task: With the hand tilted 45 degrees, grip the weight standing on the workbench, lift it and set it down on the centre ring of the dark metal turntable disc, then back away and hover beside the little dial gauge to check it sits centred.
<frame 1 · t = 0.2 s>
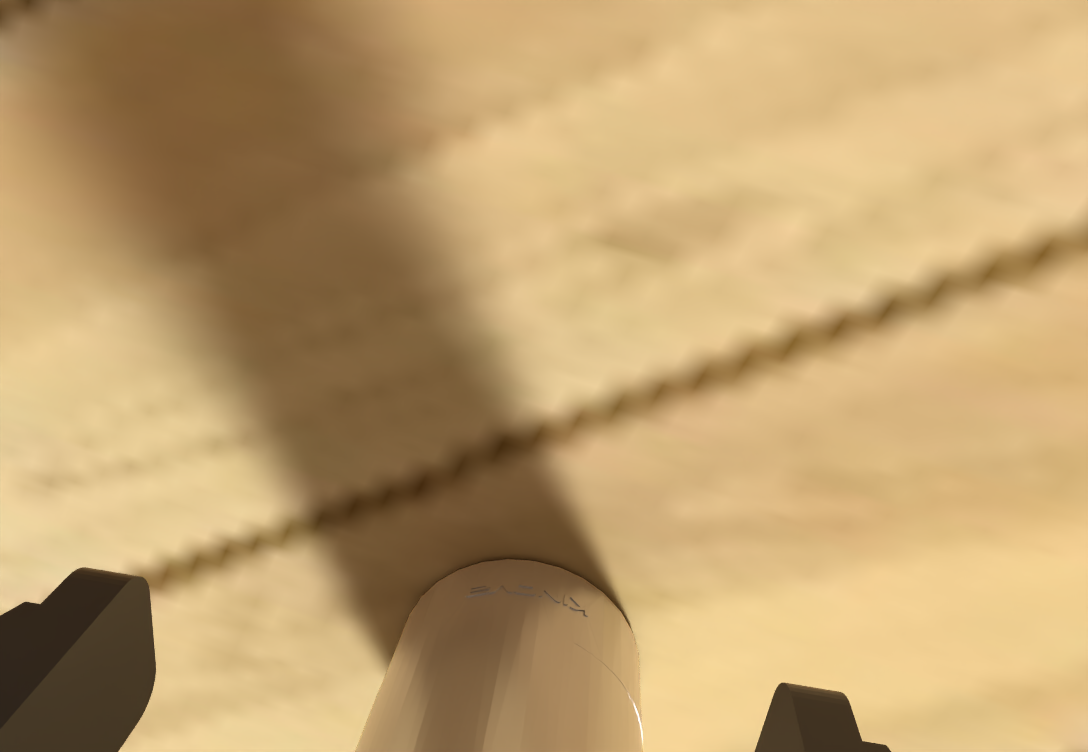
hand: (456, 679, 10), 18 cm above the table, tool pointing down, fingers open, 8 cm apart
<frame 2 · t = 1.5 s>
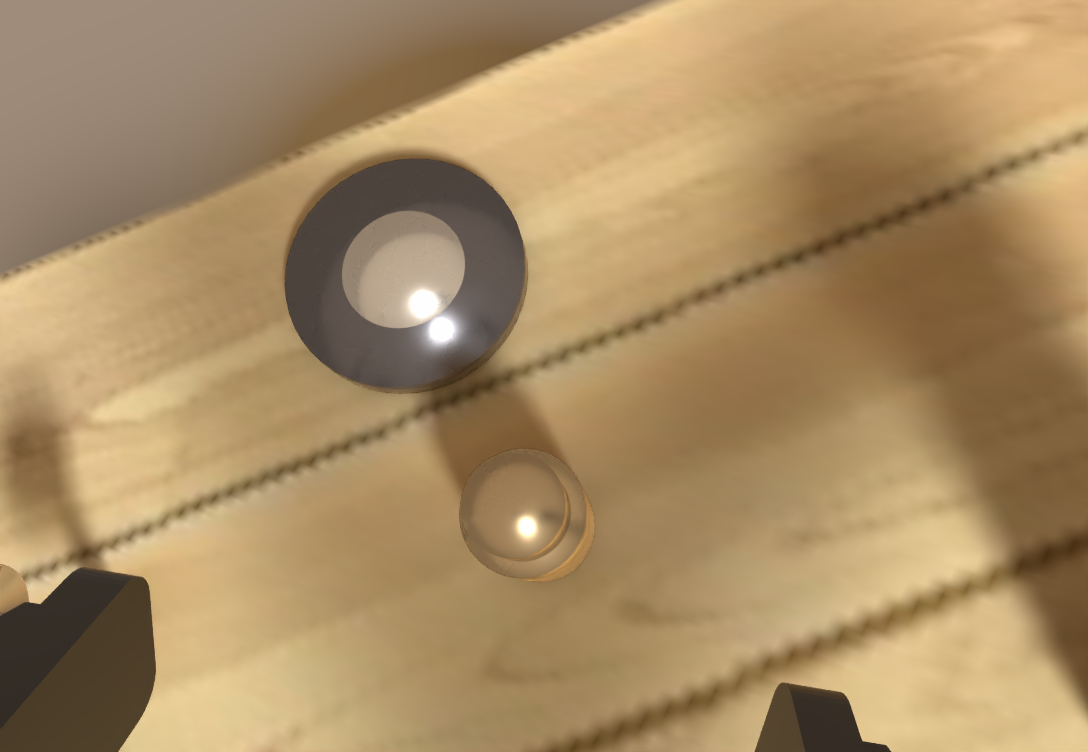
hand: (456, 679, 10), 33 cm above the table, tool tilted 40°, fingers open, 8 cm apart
dial gauge: (118, 627, 45), on the table
weight: (540, 525, 44), on the table
turntable: (410, 278, 49), on the table
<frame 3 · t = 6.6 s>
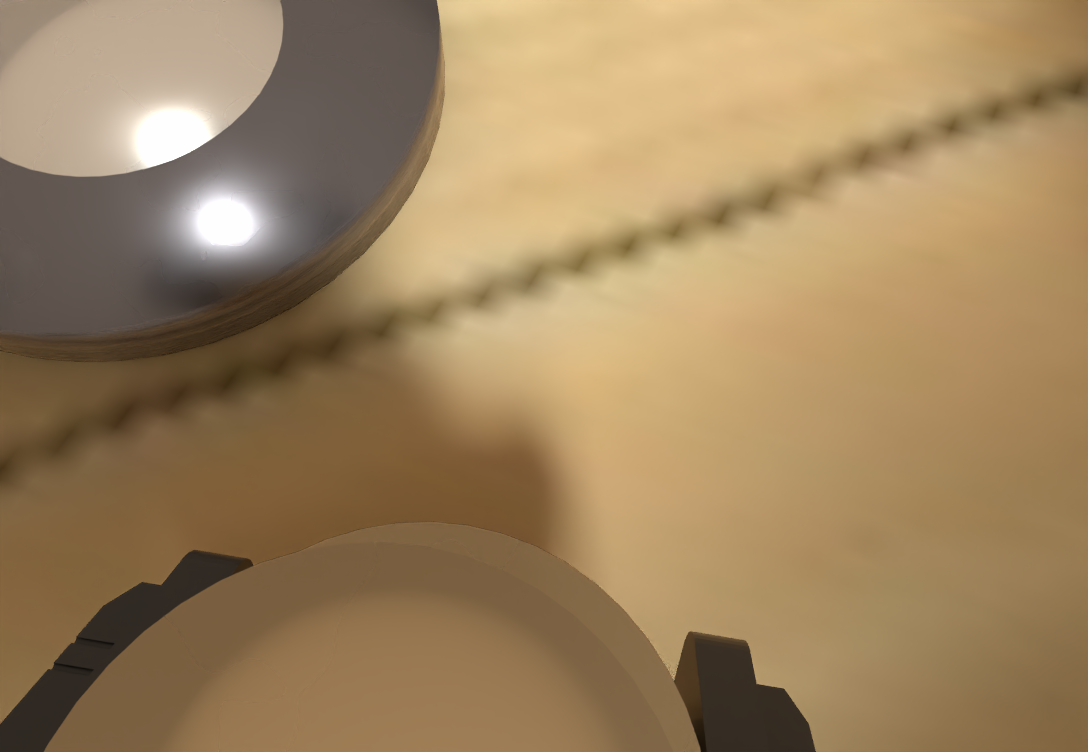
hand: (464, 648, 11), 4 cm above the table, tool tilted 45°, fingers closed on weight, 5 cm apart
turntable: (143, 82, 19), on the table
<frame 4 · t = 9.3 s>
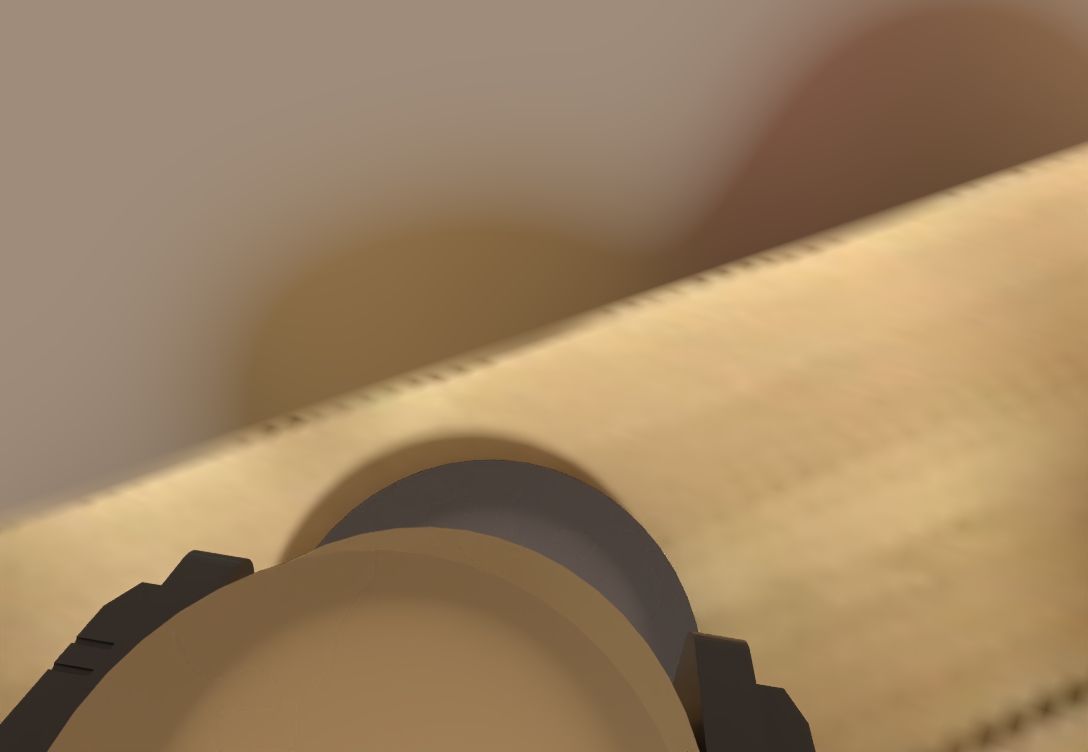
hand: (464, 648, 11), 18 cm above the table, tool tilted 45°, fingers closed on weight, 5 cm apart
turntable: (488, 673, 28), on the table
when the fingers open (7 cm above the table, at t = 12.1 s): weight stays where it is, resting on turntable.
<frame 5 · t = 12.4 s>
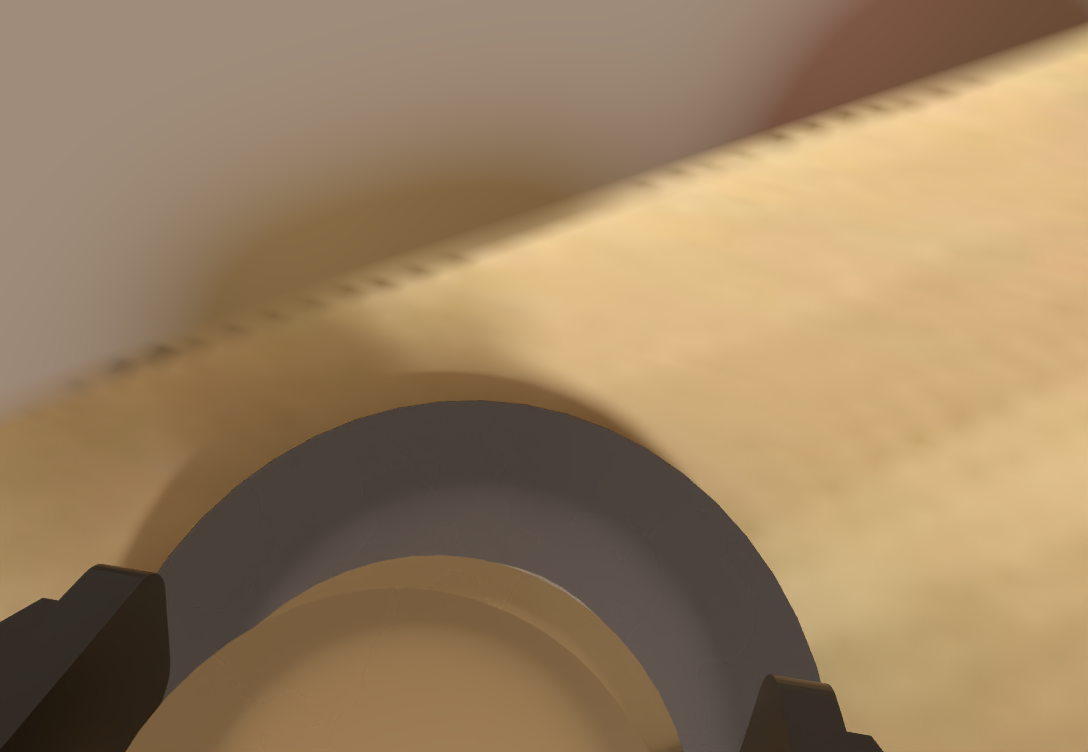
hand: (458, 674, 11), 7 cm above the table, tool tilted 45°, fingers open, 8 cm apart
turntable: (467, 751, 17), on the table
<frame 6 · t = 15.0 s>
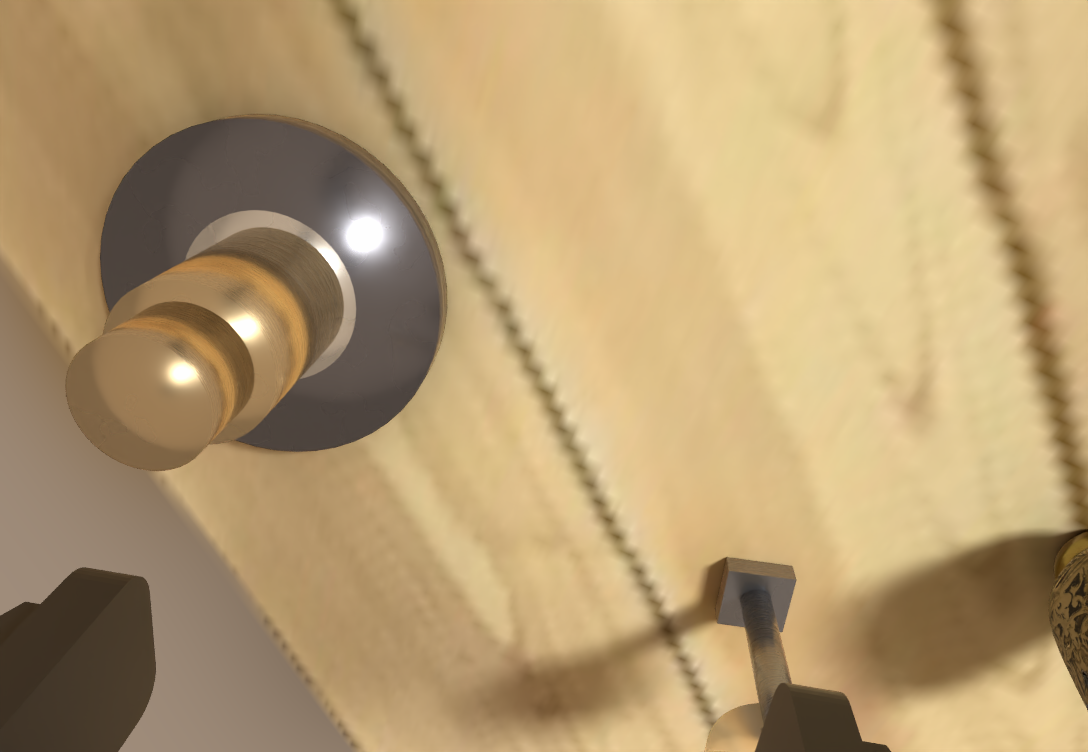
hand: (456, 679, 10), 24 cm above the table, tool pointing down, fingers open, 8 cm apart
dial gauge: (753, 588, 38), on the table
weight: (273, 298, 33), point 2 cm above the table, touching turntable
turntable: (283, 287, 35), on the table
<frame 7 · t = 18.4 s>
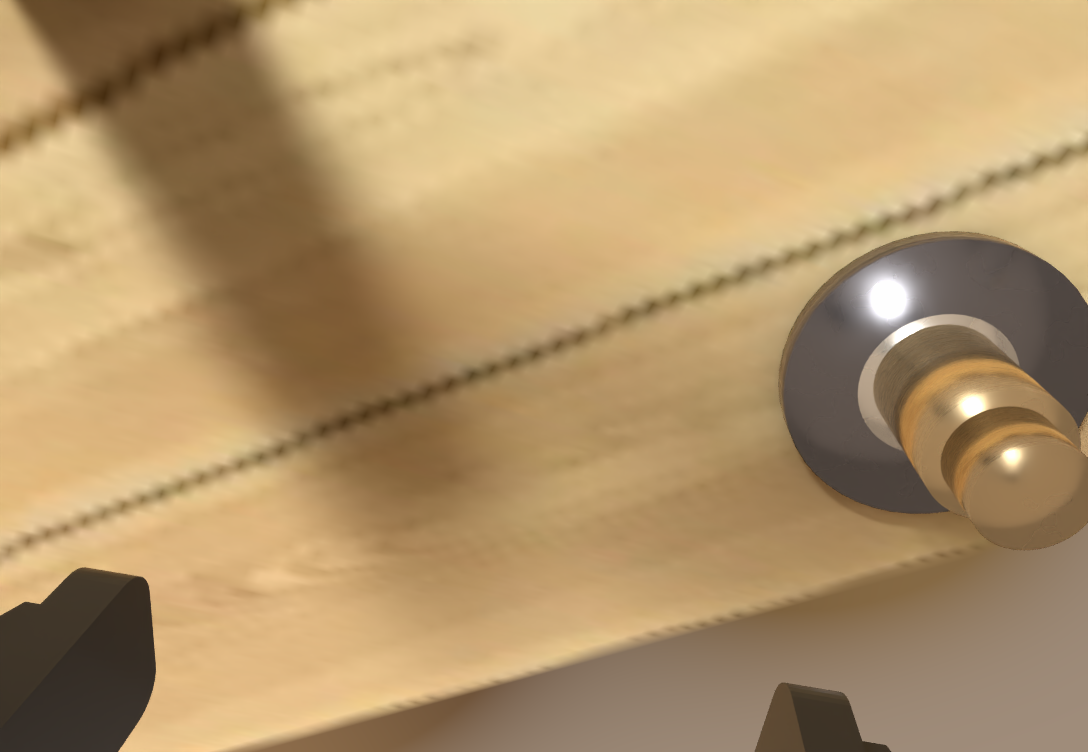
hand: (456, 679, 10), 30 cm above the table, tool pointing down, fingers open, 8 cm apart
weight: (937, 382, 38), point 2 cm above the table, touching turntable
turntable: (926, 373, 40), on the table
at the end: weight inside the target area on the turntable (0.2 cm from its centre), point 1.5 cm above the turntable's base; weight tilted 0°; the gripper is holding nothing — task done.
